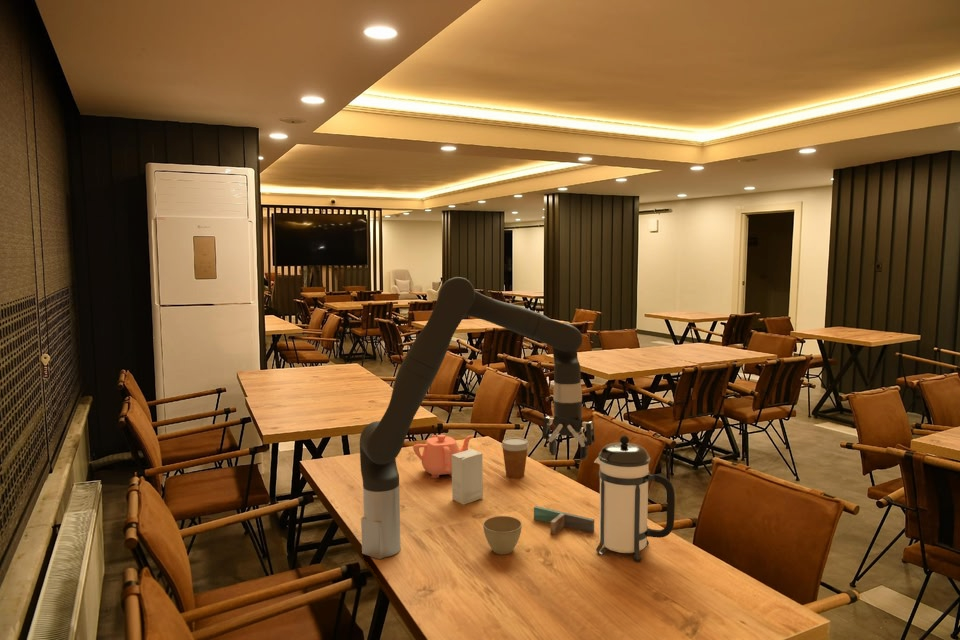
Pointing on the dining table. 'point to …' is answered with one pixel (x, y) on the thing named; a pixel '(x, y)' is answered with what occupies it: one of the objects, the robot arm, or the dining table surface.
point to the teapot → (439, 454)
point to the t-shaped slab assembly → (563, 520)
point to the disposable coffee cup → (515, 456)
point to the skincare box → (467, 476)
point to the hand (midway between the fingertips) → (568, 456)
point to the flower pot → (502, 533)
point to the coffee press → (628, 499)
